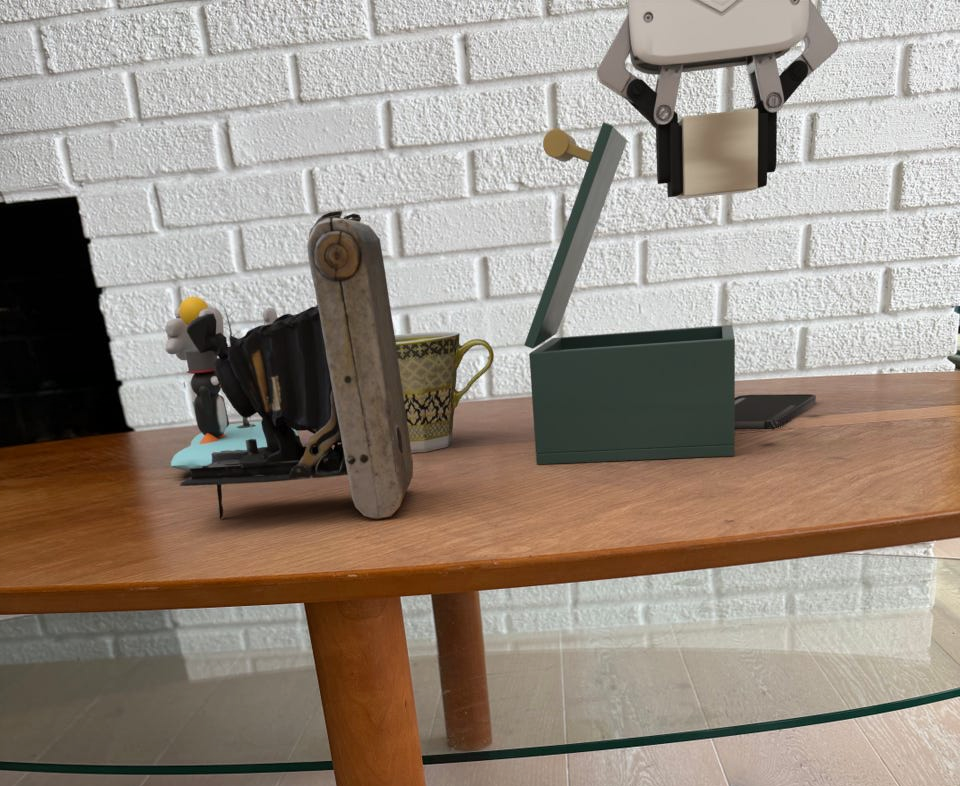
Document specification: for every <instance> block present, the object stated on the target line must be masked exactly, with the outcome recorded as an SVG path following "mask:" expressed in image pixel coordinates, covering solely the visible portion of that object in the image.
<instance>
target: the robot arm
mask: <svg viewBox="0 0 960 786" xmlns="http://www.w3.org/2000/svg"><path fill="white" fill-rule="evenodd" d="M802 41H803V44H804V49H803V51H802V52H801V54H800V55H799V56H797V57H796V58H795V59H794V60H793V61H792V62H791V63H790V64H788V66H787V67H785V68H784V69H783V71H782V72H781V73H779V67H778V62H777V59H780V58H781V57H782V56H784V55H786V54H787V53H788V52H789V51H790V50H791V48H793V47H794V46H796V45H798V44H799V43H800V42H802ZM838 47H839V41H838V39H837V37H836V35H835V34H834V33H833V31H832V29H831V28H830V27H829V25H828V24H827V21H825V19H824V17H823V16H822V14H821V13H820V11H819V10H818V8H817V7H816V5H815V4H814V3H813V1H812V0H627V15H626V16H625V17H624V20H623V22H622V23H621V25H620V26H619V29H618V30H617V33H616V34H615V36H614V38H613V40H612V42H611V44H610V45H609V47H608V49H607V51H606V52H605V54H604V56H603V58H602V60H601V61H600V63H599V65H598V66H597V70H596V79H597V81H598V82H599V83H600V84H602V85H603V86H605V87H606V88H607V89H609V90H611V91H612V92H614V93H615V94H617V95H618V96H620V97H622V98H623V99H625V100H626V101H627V102H628V104H630V105H631V106H632V107H633V108H634V109H635V110H636V111H637V112H639V114H641V116H643V117H644V118H645V119H646V121H647V122H649V123H650V125H651V126H652V128H653V129H655V146H656V149H655V150H656V151H655V153H656V180H657V181H656V182H657V185H664V184H666V192H667V193H666V196H667V198H675V197H676V198H677V196H679V195H680V193H683V154H682V125H680V126H679V123H678V122H679V114H678V113H677V112H676V111H675V109H676V104H677V99H678V95H679V94H678V93H679V88H680V84H681V83H680V82H681V77H682V73H690V72H698V71H699V72H701V71H709V70H717V69H724V68H733V67H741V66H742V67H743V66H745V68H746V72H747V77H748V81H749V86H750V91H751V95H752V100H753V105H754V106H753V107H752V108H751V109H756V108H757V109H758V188H757V189H761V188H763V187H764V188H765V187H767V185H768V173H774V172H775V171H776V169H777V151H778V149H777V148H778V147H777V144H778V142H777V141H778V140H777V139H778V112H779V111H780V110H781V109H782V108H783V106H784V105H785V103H787V101H788V100H789V99H790V97H791V96H792V95H793V94H794V93H795V91H796V90H797V89H798V88H799V87H800V86H801V85H802V83H803V82H804V81H805V79H807V78H808V77H809V76H810V75H811V74H812V73H813V72H815V71H816V70H817V69H818V68H819V67H820V66H822V64H824V62H826V61H827V60H828V59H829V58H830V57H832V56H833V55H834V54H835V53H836V51H837V50H838ZM629 57H630V58H629ZM628 58H629V59H630V63H631V64H632V67H633V68H634V69H635V70H636V71H639V72H640V73H642V74H646V75H652V76H653V75H655V76H656V75H657V76H656V77H657V78H656V82H655V88H654V89H652V87H651V86H650V85H648V83H646V81H645V80H643V79H641V78H639V77H637V76H636V75H634V74H633V73H632V72H630V71H629V70H628V69H627V66H626V61H627V59H628Z"/></svg>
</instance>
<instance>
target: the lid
mask: <svg viewBox="0 0 960 786" xmlns="http://www.w3.org/2000/svg"><path fill="white" fill-rule="evenodd" d="M627 143H628V140H627V139H626V138H625V137H624V136H623V134H621V133H620V132H619V130H618V129H616V127H614V126H613V125H612V124H609V123H606V122H602V124H601V127H600V129H599V132H598V135H597V138H596V140H595V143H594V146H593V149H592V151H591V150H589V149H586V148H583V147H581V146H579V145H578V144H577V142H576V140H575V138H574V137H573V136H572V135H570V134H568V133H567V132H565V131H564V130H562V129H560V128H552V129H550V130H549V131H547V132H546V134H545V135H544V136H543V140H542V148H543V151H544V152H545V154H546V155H547V156H548V157H550V158H553V159H555V160H556V161H559V162H562V163H563V162H564V163H565V162H569V161H570V160H572V159H574V158H576V159H579V160H581V161H585V162H586V163H587V166H586V169H585V171H584V174H583V178H582V180H581V183H580V186H579V188H578V192H577V194H576V197H575V200H574V203H573V206H572V209H571V211H570V214H569V217H568V219H567V223H566V226H565V228H564V231H563V234H562V237H561V239H560V242H559V245H558V248H557V251H556V254H555V257H554V260H553V263H552V265H551V268H550V271H549V274H548V277H547V279H546V282H545V285H544V288H543V291H542V294H541V297H540V299H539V302H538V304H537V307H536V310H535V313H534V316H533V319H532V322H531V324H530V327H529V329H528V332H527V336H526V339H525V342H524V346H525V347H528V348H530V349H536V348H538V346H541V344H544V343H545V342H547V341H549V340H550V339H552V338H553V337H555V336H556V335H557V333H558V331H559V329H560V326H561V323H562V320H563V318H564V314H565V312H566V310H567V306H568V304H569V302H570V298H571V296H572V293H573V290H574V288H575V285H576V282H577V280H578V276H579V274H580V271H581V268H582V265H583V263H584V260H585V258H586V255H587V252H588V249H589V246H590V243H591V241H592V239H593V236H594V232H595V230H596V228H597V225H598V223H599V219H600V217H601V214H602V211H603V208H604V205H605V203H606V200H607V197H608V195H609V191H610V189H611V187H612V183H613V181H614V178H615V177H616V176H615V175H616V172H617V171H618V168H619V164H620V162H621V159H622V156H623V154H624V151H625V148H626V146H627Z"/></svg>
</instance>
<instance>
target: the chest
mask: <svg viewBox="0 0 960 786" xmlns="http://www.w3.org/2000/svg"><path fill="white" fill-rule="evenodd" d="M528 355H529V371H530V372H529V373H530V386H531V399H532V400H531V403H532V415H533V417H532V418H533V429H534V430H533V432H534V444H535V445H534V447H535V448H534V449H535V462H536V465H538V466H539V465H559V464H583V463H604V462H607V463H608V462H626V461H627V460H631V461H653V460H675V459H676V460H677V459H697V458H700V459H701V458H721V457H735V447H736V446H735V444H736V443H735V439H736V438H735V434H736V432H735V431H736V430H735V398H736V393H735V392H736V391H735V390H736V384H735V383H736V376H735V375H736V338H735V332H734V327H733V324H725V325H711V326H696V327H684V328H670V329H669V328H668V329H656V330H641V331H629V332H615V333H613V332H612V333H600V334H586V335H575V336H574V335H572V336H559V337H558V336H557V337H551V338H550V339H548V340H547V341H545V342H544V343H542V345H539V347H536V348H534V350H532V351H531V352H529V354H528Z"/></svg>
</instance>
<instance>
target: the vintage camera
mask: <svg viewBox="0 0 960 786" xmlns="http://www.w3.org/2000/svg"><path fill="white" fill-rule="evenodd" d="M342 215H343V210H337V211H331V212H327V213H325V214H322V216H320V217H319V218H318V219H317V220H316V222H315V223H314V225H313V226H312V227H310V230H309V233H308V240H307V245H306V246H307V258H308V265H309V268H310V273H311V278H312V283H313V287H314V292H315V298H316V305H315V306H311V307H309V308H307V309H304V310H303V311H301V312H299V313H295V314H291V313H285V314H282V315H280V316H279V317H278V316H277V319H276V320H275V321H274V322H273V323H272V324H269V325H264V324H261V325H257V326H255V327H253V328H251V329H249V330H248V331H246V333H245V335H244V336H242V337H239V338H238V337H235V336H233V335H232V336H231V337H230V336H229V337H230V338H229V337H228V340H229V339H230V340H229V343H230V342H231V345H230V346H228V341H227V336H225V334H224V335H223V334H221V333H218V334H216V318H215V316H214V313H212V314H205V315H203V316H200V317H198V318H196V319H194V320H193V321H192V322H191V323H190V324H189V326H188V327H187V333H188V335H189V337H190V339H191V340H192V342H193V343H194V345H195V346H196V348H197V349H198V350H199V352H200V353H204V352H207V351H214V353H215V356H217V357H218V358H217V359H216V360H215V361H214V370H215V374H216V377H217V379H218V381H219V384H220V386H221V391H222V393H223V394H224V395H225V397H226V399H227V400H228V402H229V403H230V405H231V406H232V408H233V409H234V410H235V411H236V412H237V413H238V414H239V416H241V417H242V418H243V417H244V418H247V419H249V417H250V416H251V417H252V416H254V415H259V416H260V417H261V421H260V422H261V424H262V429H263V432H264V435H265V438H266V442H267V447H261V448H257V442H256V439H249V440H246V447H247V450H234V451H230V450H227V451H221V452H213V453H212V463H211V464H209V465H207V466H203V468H193V469H190V471H189V472H190V477H188V478H187V479H185V480H183V481H182V482H180V483H179V487H193V486H195V487H196V486H197V487H198V486H216V493H217V499H218V513H219V520H221V519H222V518H223V517H224V507H223V503H222V502H223V493H222V491H223V490H222V485H239V484H240V485H241V484H258V483H272V482H273V483H274V482H275V483H276V482H287V481H297V480H310V479H324V478H326V479H327V478H333V477H340V476H341V477H343V476H347V479H348V484H349V490H350V498H351V499H352V502H353V504H354V507H355V509H357V510H358V511H359V513H361V515H362V516H363V517H366V518H367V517H368V518H371V519H374V520H380V519H385V518H390V517H392V516H393V515H394V514H395V512H396V511H397V510H398V509H399V508H400V507H401V505H402V502H403V500H404V499H405V496H406V493H407V491H408V488H409V486H410V485H411V481H412V479H413V475H414V461H413V456H412V454H413V453H411V446H410V439H409V431H408V424H407V417H406V410H405V403H404V397H403V390H402V384H401V377H400V370H399V363H398V355H397V348H396V341H395V335H396V334H395V329H394V323H393V316H392V315H393V314H392V310H391V303H390V296H389V288H388V283H387V277H386V276H387V275H386V268H385V263H384V255H383V249H382V244H381V239H380V238H379V236H378V235H377V234H376V232H375V231H374V230H373V228H372V227H371V226H370V225H369V224H366V223H364V222H361V220H362V217H361V215H360V214H358V213H350V214H348V215H345V216H343V217H342ZM293 429H294V430H296V431H297V432H300V431H302V432H303V431H308V432H310V433H312V435H311V437H310V438H309V440H308V442H307V443H306V446H303V444H302V442H301V437H300V435H297V436H296V434H295V432H294V430H293ZM333 446H334V447H333Z"/></svg>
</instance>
